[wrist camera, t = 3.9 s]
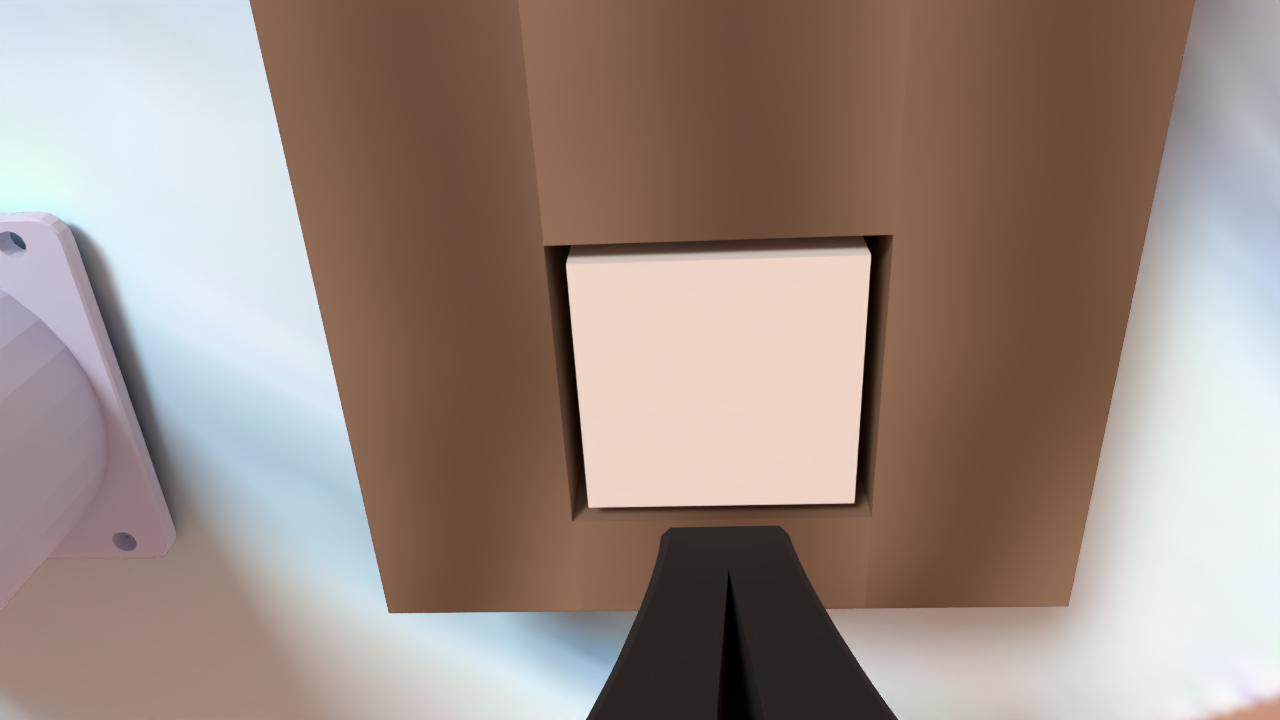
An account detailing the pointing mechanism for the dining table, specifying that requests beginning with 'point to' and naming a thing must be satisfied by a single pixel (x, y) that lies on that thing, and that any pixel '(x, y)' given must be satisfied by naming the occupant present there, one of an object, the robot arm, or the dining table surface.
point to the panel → (724, 210)
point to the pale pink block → (720, 369)
